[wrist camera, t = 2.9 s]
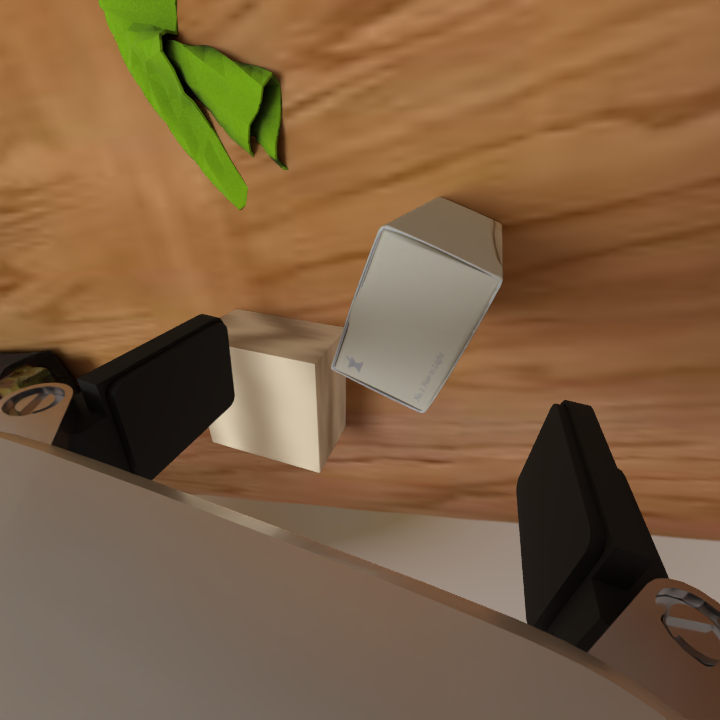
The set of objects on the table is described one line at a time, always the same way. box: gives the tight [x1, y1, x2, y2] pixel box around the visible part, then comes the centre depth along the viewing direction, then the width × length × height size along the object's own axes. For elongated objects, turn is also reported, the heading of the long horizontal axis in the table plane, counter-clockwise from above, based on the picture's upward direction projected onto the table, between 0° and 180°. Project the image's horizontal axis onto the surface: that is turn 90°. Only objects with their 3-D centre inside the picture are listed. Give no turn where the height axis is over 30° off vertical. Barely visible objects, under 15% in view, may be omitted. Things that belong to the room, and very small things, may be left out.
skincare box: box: [331, 197, 503, 413], centre depth 18 cm, size 6×4×12 cm
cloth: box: [99, 0, 288, 210], centre depth 20 cm, size 20×22×2 cm
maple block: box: [209, 309, 346, 473], centre depth 29 cm, size 10×10×6 cm
